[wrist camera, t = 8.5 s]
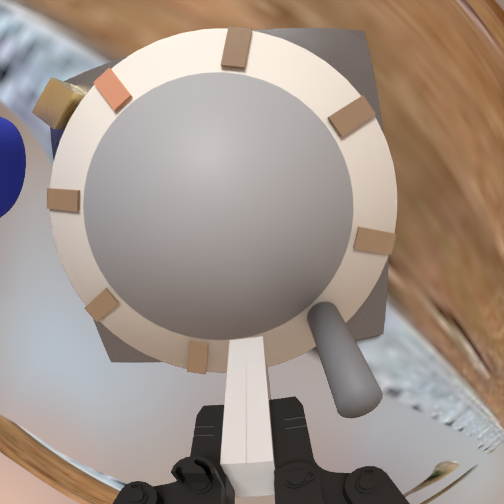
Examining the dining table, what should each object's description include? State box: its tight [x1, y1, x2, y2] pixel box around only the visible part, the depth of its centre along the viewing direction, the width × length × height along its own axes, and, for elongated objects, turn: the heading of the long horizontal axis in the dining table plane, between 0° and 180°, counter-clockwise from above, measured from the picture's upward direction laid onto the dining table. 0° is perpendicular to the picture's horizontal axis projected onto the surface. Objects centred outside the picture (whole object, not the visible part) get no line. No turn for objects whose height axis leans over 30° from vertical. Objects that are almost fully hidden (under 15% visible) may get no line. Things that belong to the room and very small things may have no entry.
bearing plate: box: [32, 28, 389, 362], centre depth 13 cm, size 18×18×3 cm
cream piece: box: [47, 26, 397, 418], centre depth 10 cm, size 17×17×8 cm
